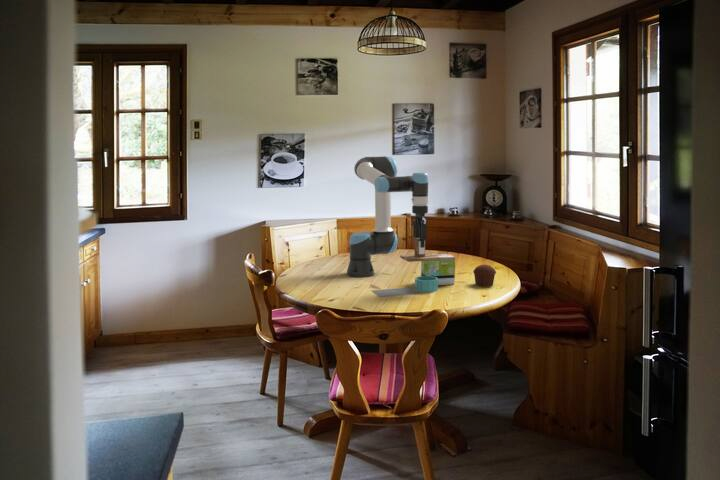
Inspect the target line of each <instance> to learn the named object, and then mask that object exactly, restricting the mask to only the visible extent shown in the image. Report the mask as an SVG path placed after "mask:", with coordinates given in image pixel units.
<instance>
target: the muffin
mask: <svg viewBox="0 0 720 480" xmlns="http://www.w3.org/2000/svg"><path fill="white" fill-rule="evenodd" d="M472 272H473V275H474V282H475V285H476V286H478V287H492V286H494V282H495V277H496V274H497V271H496V270H495V268H494V267H493V266H491V265H489V264H480V265H477V266H475V268H474V269H473V271H472Z"/></svg>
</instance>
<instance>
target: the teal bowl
mask: <svg viewBox="0 0 720 480" xmlns="http://www.w3.org/2000/svg"><path fill="white" fill-rule="evenodd" d="M414 291H416V292H419V293H435V292H438V291H439V285H438V278H437V277H432V276H421V275H420V276H416V277H414Z"/></svg>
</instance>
